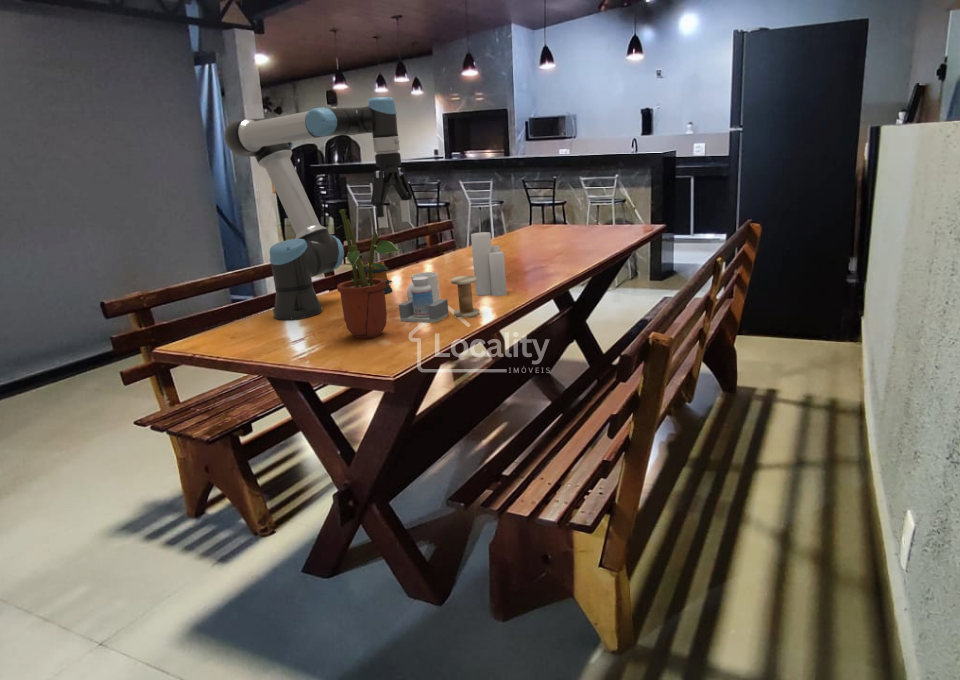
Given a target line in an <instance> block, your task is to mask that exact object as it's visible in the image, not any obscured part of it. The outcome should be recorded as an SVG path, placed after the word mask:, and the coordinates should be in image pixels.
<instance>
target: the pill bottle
mask: <svg viewBox="0 0 960 680" xmlns="http://www.w3.org/2000/svg"><path fill="white" fill-rule="evenodd" d="M412 281H413V284H414V286H413V287H412V288H411V295H412V302H413V311H414V316H416V317H428V316H429V309H428V306H429V305H431V304H433V296H432V288H431V286H430V285H428V277H416V278H413V279H411V282H412Z"/></svg>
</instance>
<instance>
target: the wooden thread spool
mask: <svg viewBox="0 0 960 680" xmlns="http://www.w3.org/2000/svg"><path fill="white" fill-rule="evenodd" d="M476 281H477V277H476V276H474V275H460V276H455V277H451V279H450V283H451V284H452V285H457V294H458V306H459V309H456V310H454V311H453V316H454V317H455V316H456V317H455V318H458V317H469V318H473V316H474V317H477V316H479V315H480V309H479V308H476V307H475V308H474V306H473V305H474V304H473V293H472V284H475V282H476Z"/></svg>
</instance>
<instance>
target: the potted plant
mask: <svg viewBox="0 0 960 680" xmlns="http://www.w3.org/2000/svg"><path fill="white" fill-rule="evenodd" d="M347 210H348V209H347V208H343V209H340V208H339V209H338V211H339V214H340V216H341V220H342V224H341V225H338V227H336V230H338V229H339V228H342V227H343V229H344V233H345V236H344V237H343V239H344V238H346V243H347V248H348V249H347V250H348V252H347V254H346V260H347V261H348V262H349V263H350V264H351V269H352V275H353V278H351V280H347V281H343V282H340V283H338V284H337V285H336V289H337V291H338V293H339V294H340V299H341V308H342V312H343V313H342V314H343V320H344V322H345V325H346V328H347V330H348V332H350V334H351V335H352V336H354V337H355V338H358V339H361V340H362V339H363V340H368V339H374V338H376V337H378V336H380V335H381V334H382V333H383V332H384V330H385V327H386V326H387V318H388V317H387V316H388V311H387V303H386V295H385V292H384V287H385V286H386V281H385V280H384V279H379V278H373V276H372V272H373V267H377V268H382V269H386V271H389V269H387V268H386V267H387V266H386V265H385V264H384V265H383V264H379V263H380V262H375V264H373V262H374V256H375V255H374V254H375V253H378V254H389V253H394V252H396V253H397V252H398V253H400V252H401V250H400V249H398V247H396V245H395V244H394V243H393V242H392V241H388V240H383V239H382V240H380V241H379V242H378V243H377V241H378V239H379V236H378V233H377V232H376V231H379V230H382V229H383V230H384V228H379V227H378V228H377V229H376V231H374V233H373V235H372V234H371V235H370V236H371V237H372V238H371V243H370V252H369V260H368V263H369V278H367V273H366V272H365V271H364V268H363V267H367V265H368V264H366V263H365V264H364V265H362V262H363V261H362V259H363V255H362V254H360V253H361V252H360V251H359V250H358V245H357V240H356V237H355V234H354V230H353V227H352V224H351V222H350V219H349V218H347V217H346V216H347V215H346V213H347ZM345 251H346V249H344V252H345ZM361 261H362V262H361ZM357 271H358V272H357ZM358 274H359V277H358Z"/></svg>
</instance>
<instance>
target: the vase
mask: <svg viewBox="0 0 960 680" xmlns="http://www.w3.org/2000/svg"><path fill="white" fill-rule="evenodd" d="M470 239H471V249H472V262H473V263H472V265H473V276H476V277H477V281H476V282H474V287H475V288H474V289H475V295H476V296H489V295H491V296H492V297H493V296H494V297H502V296H506V295H508V293H507V280H506V264H505V252H504V251H501V247H500V245H492V235H491V232H489V231H485V232H484V231H482V232H480V231H479V232H474V233H471V234H470Z"/></svg>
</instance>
